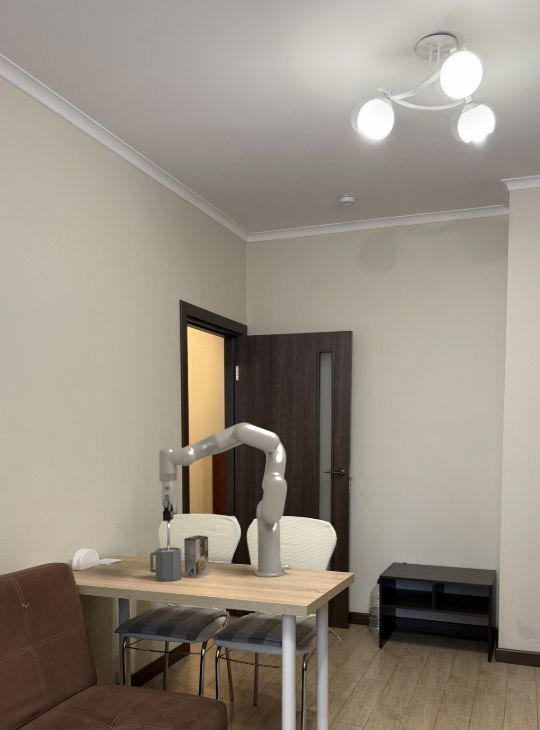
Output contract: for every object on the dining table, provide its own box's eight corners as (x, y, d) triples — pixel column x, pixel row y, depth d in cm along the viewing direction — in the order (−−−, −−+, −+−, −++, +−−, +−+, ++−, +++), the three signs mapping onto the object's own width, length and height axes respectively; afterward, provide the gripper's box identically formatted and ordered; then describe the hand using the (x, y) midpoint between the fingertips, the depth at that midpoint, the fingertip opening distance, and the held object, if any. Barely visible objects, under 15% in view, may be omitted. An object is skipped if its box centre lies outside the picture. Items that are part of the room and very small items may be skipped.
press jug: (182, 576, 293) (182, 547, 294) (179, 581, 283) (179, 551, 284) (152, 576, 293) (152, 547, 294) (148, 582, 283) (148, 552, 284)
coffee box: (196, 573, 299) (196, 535, 300) (209, 574, 296) (208, 536, 297) (183, 577, 291) (183, 538, 293) (196, 578, 288) (196, 539, 289)
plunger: (179, 550, 293) (178, 510, 295) (177, 553, 285) (177, 512, 287) (160, 550, 293) (160, 510, 294) (157, 554, 285) (157, 513, 286)
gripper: (175, 479, 283) (175, 522, 282) (179, 476, 301) (179, 516, 299) (156, 479, 283) (156, 522, 282) (161, 476, 300) (161, 516, 299)
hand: (168, 519), depth 290 cm, fingers open, 9 cm apart
